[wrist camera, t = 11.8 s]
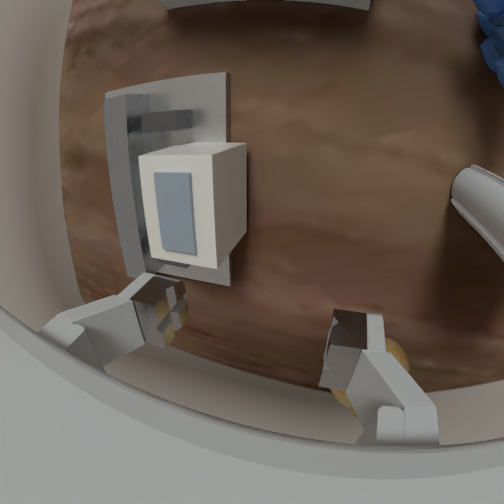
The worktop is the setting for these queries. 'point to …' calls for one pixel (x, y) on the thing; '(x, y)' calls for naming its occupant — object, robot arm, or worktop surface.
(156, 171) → the block
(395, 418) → the robot arm
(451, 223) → the worktop surface
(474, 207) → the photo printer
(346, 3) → the white toaster
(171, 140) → the rail base
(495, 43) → the grapes
